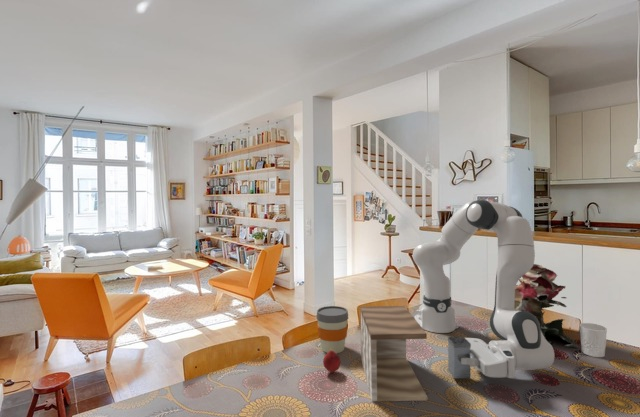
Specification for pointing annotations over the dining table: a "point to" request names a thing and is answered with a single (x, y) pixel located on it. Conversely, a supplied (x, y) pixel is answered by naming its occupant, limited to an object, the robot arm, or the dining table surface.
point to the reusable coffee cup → (332, 328)
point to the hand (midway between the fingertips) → (456, 355)
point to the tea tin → (458, 357)
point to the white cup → (593, 339)
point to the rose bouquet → (540, 299)
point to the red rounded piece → (331, 361)
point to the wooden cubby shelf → (389, 353)
